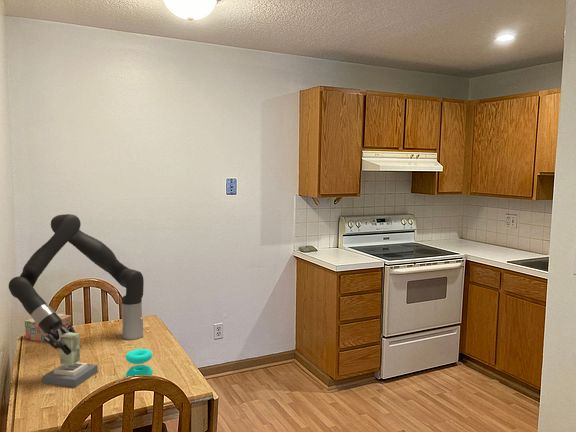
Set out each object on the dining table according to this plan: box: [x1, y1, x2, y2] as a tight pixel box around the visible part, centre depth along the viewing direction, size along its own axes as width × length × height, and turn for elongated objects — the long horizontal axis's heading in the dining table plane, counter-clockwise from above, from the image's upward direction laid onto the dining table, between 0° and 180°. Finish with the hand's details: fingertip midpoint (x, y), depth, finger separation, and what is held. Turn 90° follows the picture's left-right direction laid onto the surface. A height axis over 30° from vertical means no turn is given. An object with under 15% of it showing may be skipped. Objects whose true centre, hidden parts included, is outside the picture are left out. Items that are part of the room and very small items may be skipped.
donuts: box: [125, 348, 154, 378], centre depth 188 cm, size 10×10×10 cm
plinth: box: [42, 361, 99, 388], centre depth 187 cm, size 14×14×4 cm
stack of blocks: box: [24, 313, 72, 344], centre depth 228 cm, size 21×6×12 cm, turn 75°
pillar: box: [59, 332, 81, 365], centre depth 186 cm, size 5×5×11 cm
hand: (74, 350), depth 186 cm, fingers closed on pillar, 5 cm apart
